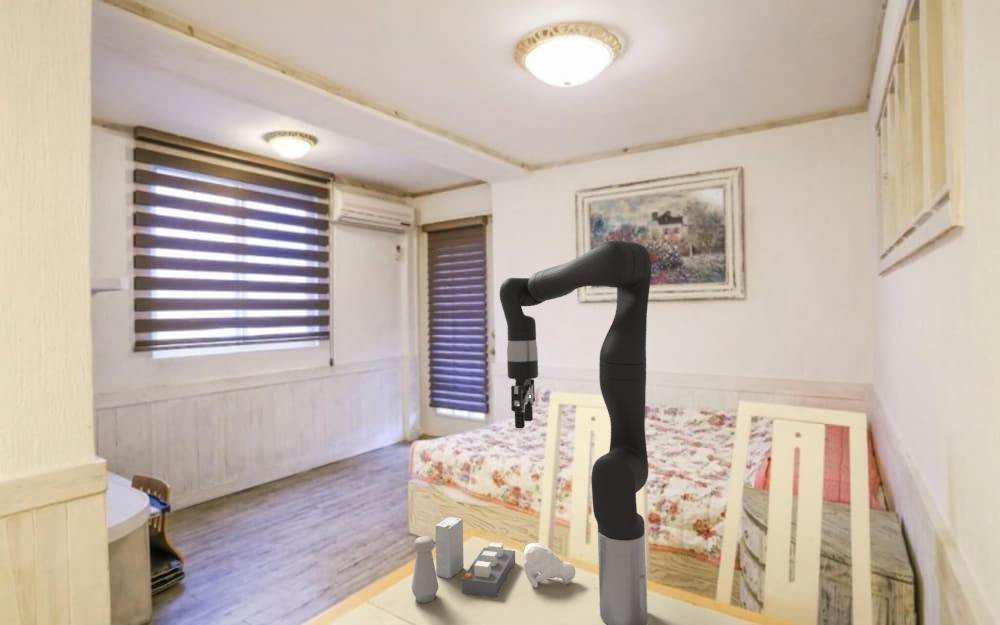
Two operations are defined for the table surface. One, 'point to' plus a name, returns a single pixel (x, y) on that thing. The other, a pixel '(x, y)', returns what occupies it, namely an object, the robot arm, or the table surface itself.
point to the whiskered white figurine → (545, 565)
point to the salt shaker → (424, 571)
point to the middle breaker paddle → (490, 557)
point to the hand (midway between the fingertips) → (524, 424)
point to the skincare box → (449, 547)
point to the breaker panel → (494, 577)
